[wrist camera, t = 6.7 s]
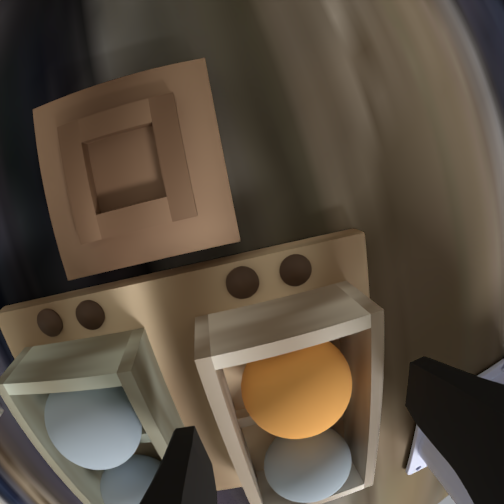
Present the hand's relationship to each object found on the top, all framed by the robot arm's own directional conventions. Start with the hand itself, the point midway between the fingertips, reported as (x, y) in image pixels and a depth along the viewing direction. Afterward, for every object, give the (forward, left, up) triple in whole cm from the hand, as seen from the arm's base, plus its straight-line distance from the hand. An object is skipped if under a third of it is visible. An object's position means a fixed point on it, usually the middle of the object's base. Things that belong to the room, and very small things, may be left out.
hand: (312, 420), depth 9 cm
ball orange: (0, 0, -2) cm, 2 cm away
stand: (+4, -8, -5) cm, 11 cm away
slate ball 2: (+8, +5, -2) cm, 10 cm away
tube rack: (+4, +2, -5) cm, 7 cm away
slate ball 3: (0, +5, -2) cm, 5 cm away
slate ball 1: (+8, 0, -2) cm, 8 cm away
